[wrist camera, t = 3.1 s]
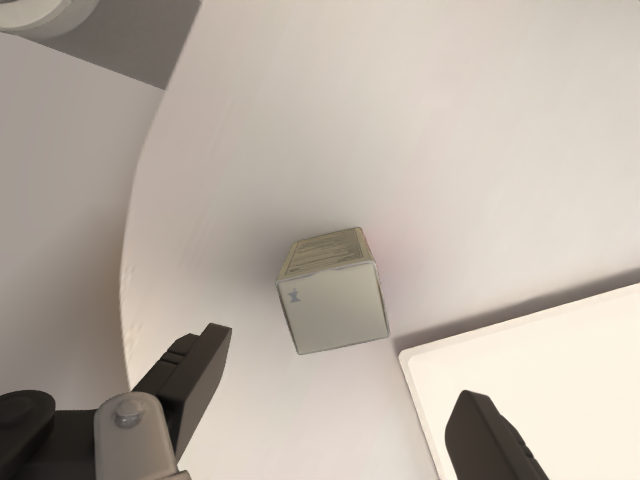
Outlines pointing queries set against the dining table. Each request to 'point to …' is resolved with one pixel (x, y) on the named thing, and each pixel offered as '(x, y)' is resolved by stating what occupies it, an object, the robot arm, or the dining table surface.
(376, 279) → the small box
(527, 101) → the dining table surface
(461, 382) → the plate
